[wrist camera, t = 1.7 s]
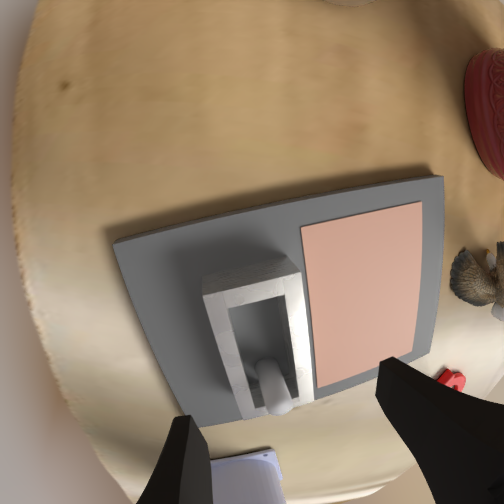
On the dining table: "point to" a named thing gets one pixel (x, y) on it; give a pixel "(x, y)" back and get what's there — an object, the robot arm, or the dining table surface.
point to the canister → (487, 107)
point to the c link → (292, 319)
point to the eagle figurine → (480, 280)
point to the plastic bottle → (349, 2)
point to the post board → (314, 287)
